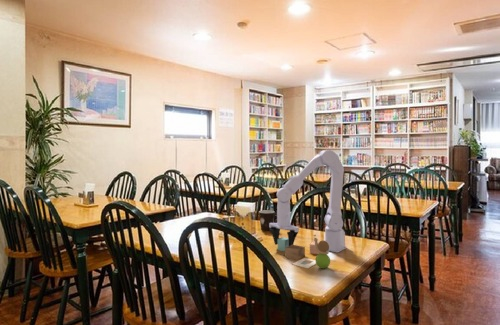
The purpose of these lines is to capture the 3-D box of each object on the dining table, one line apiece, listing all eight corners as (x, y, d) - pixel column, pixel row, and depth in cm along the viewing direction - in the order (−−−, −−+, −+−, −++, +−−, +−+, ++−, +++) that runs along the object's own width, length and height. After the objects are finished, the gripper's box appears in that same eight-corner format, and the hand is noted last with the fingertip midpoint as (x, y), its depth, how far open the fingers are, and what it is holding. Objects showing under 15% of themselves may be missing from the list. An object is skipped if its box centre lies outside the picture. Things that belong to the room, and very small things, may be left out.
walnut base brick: (292, 253, 146) (292, 244, 146) (304, 256, 142) (304, 246, 142) (285, 257, 141) (284, 247, 141) (297, 260, 137) (297, 250, 137)
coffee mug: (256, 228, 191) (256, 210, 191) (271, 227, 194) (271, 209, 193) (263, 233, 180) (263, 214, 180) (279, 232, 183) (278, 213, 182)
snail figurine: (317, 263, 132) (317, 233, 132) (332, 267, 128) (332, 235, 128) (310, 267, 128) (310, 236, 128) (326, 271, 124) (326, 239, 124)
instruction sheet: (304, 258, 139) (304, 257, 139) (319, 262, 134) (319, 261, 134) (292, 264, 132) (292, 263, 132) (308, 268, 127) (308, 267, 127)
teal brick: (282, 247, 154) (282, 236, 154) (290, 249, 152) (290, 238, 151) (277, 249, 151) (277, 238, 151) (285, 251, 148) (285, 240, 148)
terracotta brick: (312, 250, 149) (312, 241, 149) (321, 251, 148) (321, 242, 148) (309, 253, 146) (309, 244, 146) (318, 254, 144) (318, 245, 144)
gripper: (265, 214, 152) (265, 244, 153) (292, 218, 143) (292, 250, 143) (274, 212, 158) (274, 241, 158) (301, 216, 148) (301, 247, 149)
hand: (283, 245), depth 151 cm, fingers open, 7 cm apart
